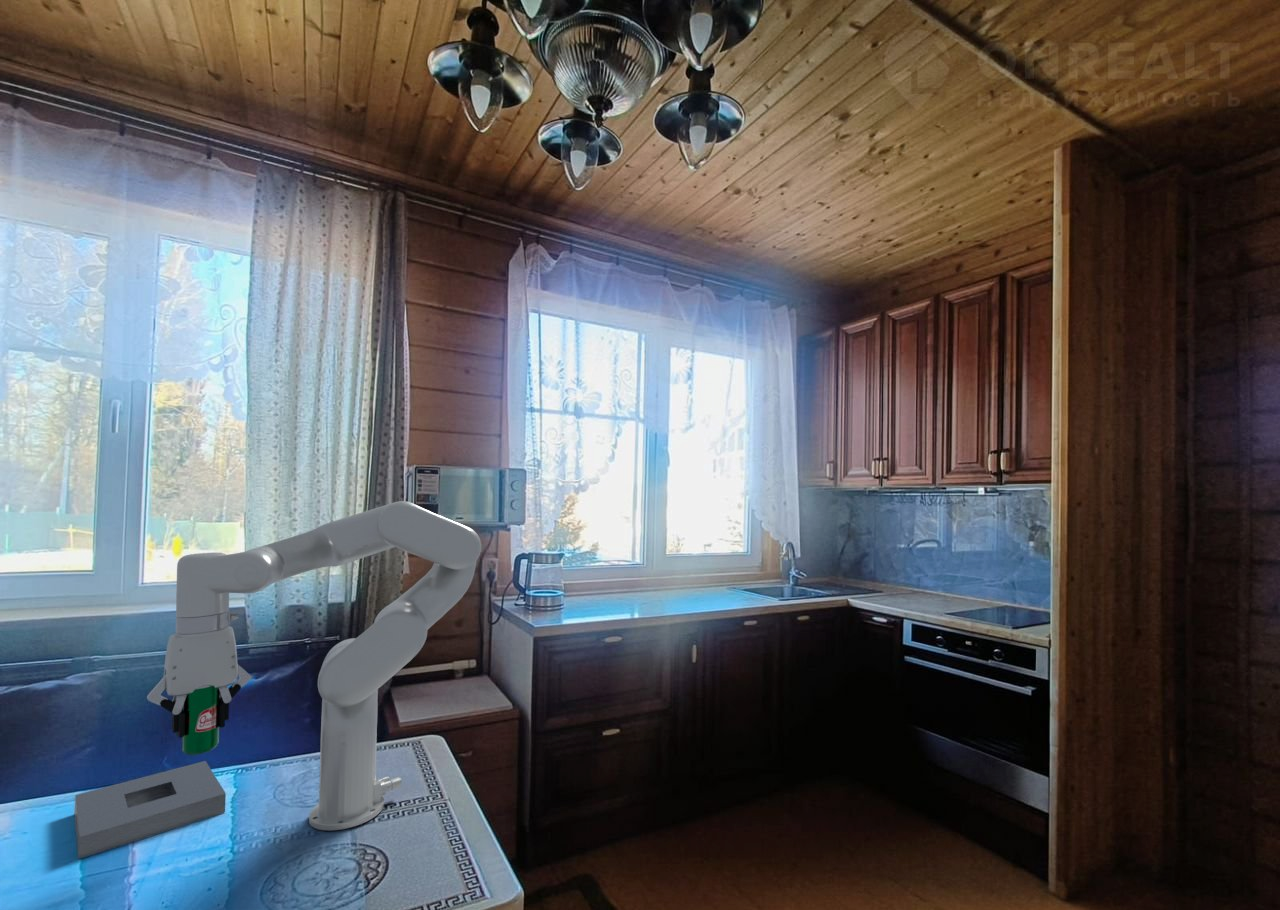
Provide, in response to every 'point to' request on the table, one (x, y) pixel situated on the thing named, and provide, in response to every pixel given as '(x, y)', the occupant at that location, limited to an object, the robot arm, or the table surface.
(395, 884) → the table surface
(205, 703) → the soda can
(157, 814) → the bore block
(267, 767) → the table surface
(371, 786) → the robot arm
